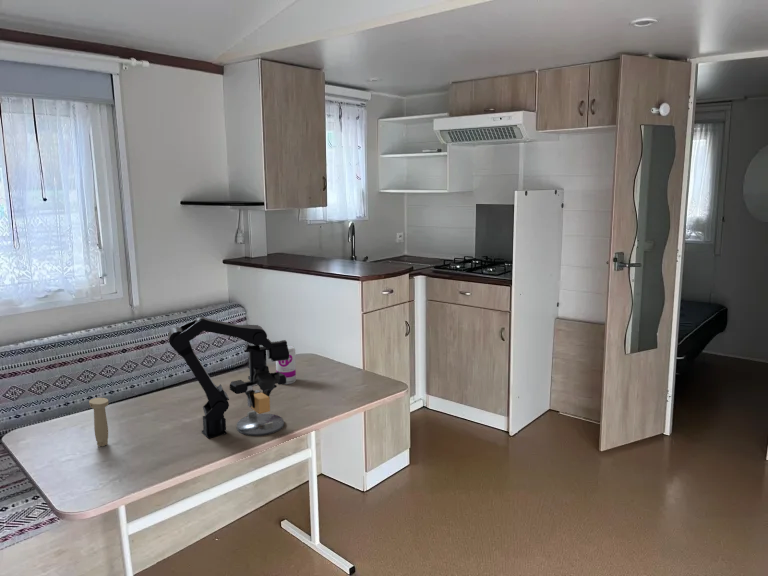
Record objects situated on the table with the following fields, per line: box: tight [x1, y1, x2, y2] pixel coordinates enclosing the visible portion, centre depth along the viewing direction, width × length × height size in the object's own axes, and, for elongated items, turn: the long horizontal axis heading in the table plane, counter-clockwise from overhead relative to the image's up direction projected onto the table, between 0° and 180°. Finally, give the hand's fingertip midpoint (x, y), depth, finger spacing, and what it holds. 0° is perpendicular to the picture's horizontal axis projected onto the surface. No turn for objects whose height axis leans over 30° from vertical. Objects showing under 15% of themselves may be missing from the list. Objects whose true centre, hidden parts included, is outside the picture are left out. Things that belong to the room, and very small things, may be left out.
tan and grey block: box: [246, 389, 271, 414], centre depth 204 cm, size 4×9×5 cm, turn 38°
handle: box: [88, 397, 110, 447], centre depth 189 cm, size 5×6×15 cm
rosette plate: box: [236, 410, 285, 437], centre depth 205 cm, size 16×16×3 cm
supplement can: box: [275, 344, 297, 385], centre depth 248 cm, size 8×8×15 cm
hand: (259, 406), depth 204 cm, fingers closed on tan and grey block, 4 cm apart
